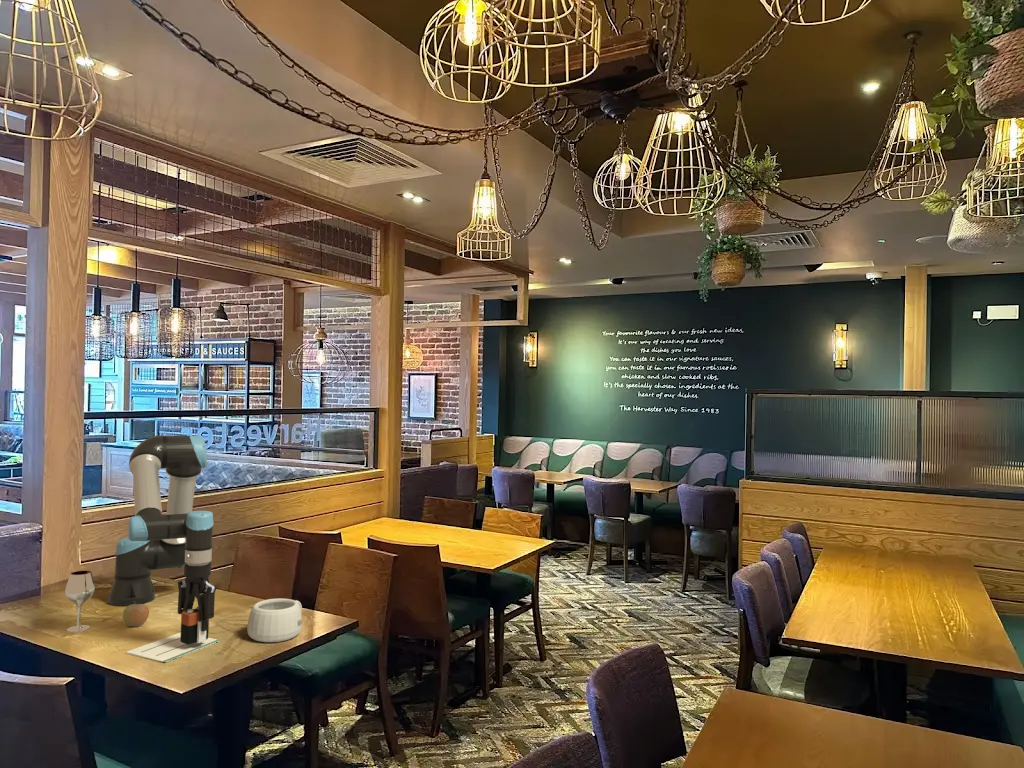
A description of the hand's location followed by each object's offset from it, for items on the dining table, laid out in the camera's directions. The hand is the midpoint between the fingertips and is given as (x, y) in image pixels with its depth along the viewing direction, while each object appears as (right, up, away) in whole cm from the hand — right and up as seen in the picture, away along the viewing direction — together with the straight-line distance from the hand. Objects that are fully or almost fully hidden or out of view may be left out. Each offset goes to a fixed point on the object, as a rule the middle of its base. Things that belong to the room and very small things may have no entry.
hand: (194, 639), depth 208 cm
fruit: (-27, -2, +17) cm, 32 cm away
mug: (+21, -4, +15) cm, 26 cm away
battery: (0, -1, 0) cm, 1 cm away
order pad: (-6, -2, -1) cm, 6 cm away
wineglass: (-43, -1, +12) cm, 44 cm away
